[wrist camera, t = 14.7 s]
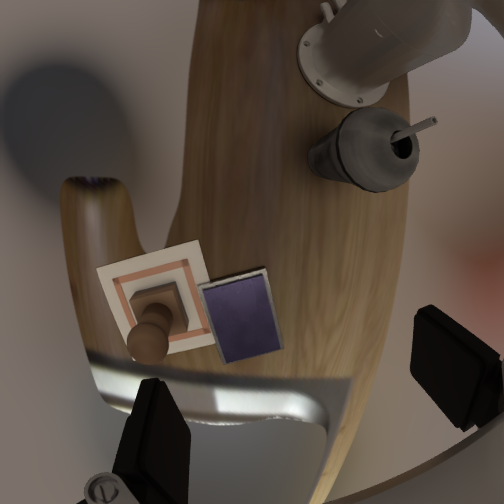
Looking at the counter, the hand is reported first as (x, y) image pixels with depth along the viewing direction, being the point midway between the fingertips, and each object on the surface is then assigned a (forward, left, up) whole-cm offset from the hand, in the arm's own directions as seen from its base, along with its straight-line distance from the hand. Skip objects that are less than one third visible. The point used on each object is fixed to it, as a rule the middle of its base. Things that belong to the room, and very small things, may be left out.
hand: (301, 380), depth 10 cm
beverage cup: (-7, +12, -25) cm, 29 cm away
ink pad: (+9, -2, -25) cm, 27 cm away
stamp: (+5, -11, -25) cm, 27 cm away
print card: (+5, -11, -25) cm, 28 cm away
